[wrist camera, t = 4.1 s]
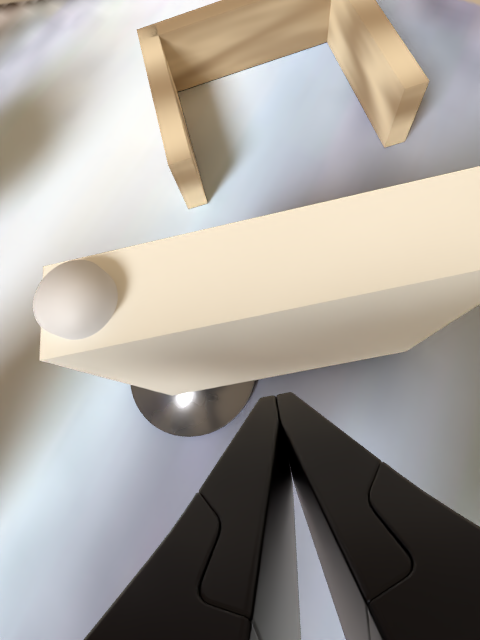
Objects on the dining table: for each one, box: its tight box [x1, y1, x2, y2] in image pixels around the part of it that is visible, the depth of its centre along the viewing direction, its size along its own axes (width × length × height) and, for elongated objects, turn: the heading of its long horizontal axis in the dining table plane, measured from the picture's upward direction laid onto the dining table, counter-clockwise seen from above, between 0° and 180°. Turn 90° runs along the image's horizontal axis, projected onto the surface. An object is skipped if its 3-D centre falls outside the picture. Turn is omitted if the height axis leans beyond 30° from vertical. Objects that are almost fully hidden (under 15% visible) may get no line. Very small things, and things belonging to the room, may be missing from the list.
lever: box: [33, 166, 480, 396], centre depth 11 cm, size 2×11×9 cm, turn 100°
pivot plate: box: [131, 380, 255, 437], centre depth 16 cm, size 6×6×1 cm
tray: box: [137, 0, 429, 209], centre depth 19 cm, size 11×13×4 cm
